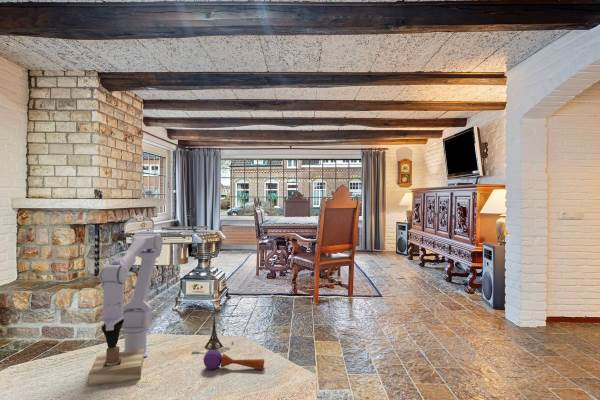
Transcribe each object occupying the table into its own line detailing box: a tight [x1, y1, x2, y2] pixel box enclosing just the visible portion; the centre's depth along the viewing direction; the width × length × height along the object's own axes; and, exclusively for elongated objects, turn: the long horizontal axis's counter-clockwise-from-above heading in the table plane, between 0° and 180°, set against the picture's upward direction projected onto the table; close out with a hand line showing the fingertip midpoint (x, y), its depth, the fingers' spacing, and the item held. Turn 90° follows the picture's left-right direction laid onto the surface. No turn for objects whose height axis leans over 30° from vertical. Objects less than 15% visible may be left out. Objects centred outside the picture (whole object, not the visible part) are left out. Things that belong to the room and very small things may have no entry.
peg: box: [105, 345, 120, 367], centre depth 111 cm, size 4×4×8 cm
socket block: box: [88, 349, 144, 387], centre depth 113 cm, size 13×14×4 cm
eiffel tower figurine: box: [191, 315, 235, 355], centre depth 133 cm, size 15×10×13 cm
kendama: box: [203, 350, 265, 371], centre depth 117 cm, size 6×6×20 cm
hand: (112, 345), depth 111 cm, fingers open, 2 cm apart
